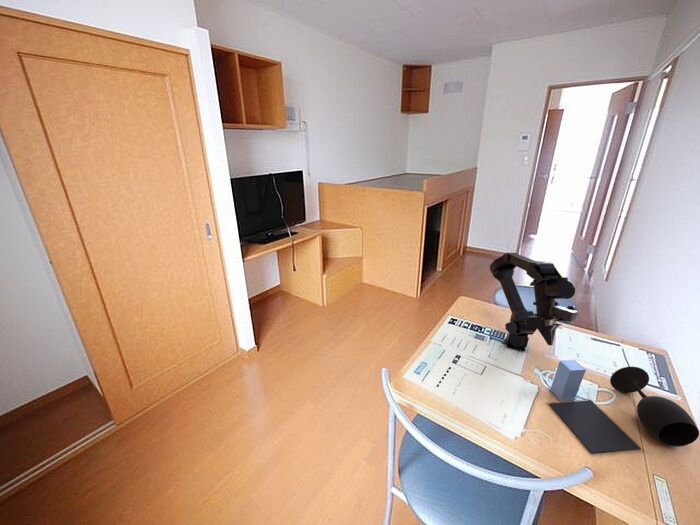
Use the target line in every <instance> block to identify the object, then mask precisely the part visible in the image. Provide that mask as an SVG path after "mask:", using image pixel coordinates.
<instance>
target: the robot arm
mask: <svg viewBox="0 0 700 525" xmlns="http://www.w3.org/2000/svg"><path fill="white" fill-rule="evenodd" d="M516 268H519V269H521V270H523V271H525V272H526V275H527V276H529V278H531V279H533V280H532V281H531V282H530V283H529V286H530V287H533V292H534V300H535V301H533V302H532V305H533V306H535V311H536V313H534V311H532V310H528V309H526V307H525V305H524V302H523V300H522V297H521V295H520V293H519V290H518V288H517V286H516V283H515V281H514V278H513V276H514V272H515V269H516ZM489 270H490V273H491V274H492V276H493V278H494V279H495V280H497V281H498V282H499V283H500V286H501V288H502V291H503V293H504V296H505V299H506V301H507V304H508V306H509V309H510V312H511V315H510V318H509V322H507V323H505V330H506V331H507V333H508V334H507V337H506V348H510V349H514V350H517V351H521V352H526V348H527V347H528V345H529V340H530V336H529V335H531V336H533V335H534V334H535V333H536V332H537V331H538V332H539V333H540V335H541V336H542V338H543V340H544V341H545V343H546V344H547V346H553V344H554V340H555V335H556V331H557V329H558V328H559V327H560V326H562V324H563V323H568V322H569V323H570V322H571V323H572V322H575V321H576V319H577V317H578V316H579V311H578V310H577V307H576V306H575V305H568V306H561V305H560V302H559V301H557V300H568V299H569V300H570V299H572V298H573V297H574V296H575V295H576V287H575V286H574V284H573V283H572V282H571V281H570V280H569V279H568V278H569V277H568V276H562V275H561V273H560V272H559V271H558V269H557V267H556V266H555V264H554V263H553V262H550V261H541V260H540V261H539V260H534V259H532V258H529V257H527V256H524V255H522V254H519V253H518V252H505V253H504V254H502V255H501V256H499V257H498V258H495V259H494V260H493V261H492V262H491V263H490V265H489ZM558 322H563V323H558Z"/></svg>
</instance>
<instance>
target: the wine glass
mask: <svg viewBox="0 0 700 525" xmlns="http://www.w3.org/2000/svg"><path fill="white" fill-rule="evenodd" d="M609 381H610V382H609V383H610V385H611V387H612V388H613V389H614V390H615V391H618V392H620V393H624V394H632V393H636V392H637V393H638V395H639V396H640V397H641V399H640V400H639V401H638V404H637V406H636V414H637V417H638V420H639V421H640V423H641V425H642V426H643V427H644V429H646V431H647V432H649V433H650V435H652V436H653V437H654V438H655V439H656V440H658V441H659V442H661V443H662V444H664V445H666V446H669V447H677V448H679V447H685V446H688V445H690V444H692V443H695V441H697V439H699V437H700V430H699V428H698V426H697V425H696V422H695V421H694V420H693V418H692V417H691V415H690V414H689V413H688V412H687V411H686V410H685V409H684V408H683V407H681V406H680V404H678V403H676V402H675V401H673V400H671V399H669V398H666V397H662V396H658V395H646V394H645V392H643V391H642V390H644V389H645V388H646V387H647V385H648V384H649V382H650V375H649V374H648V372H647V371H646V370H645V369H643V368H641V367H638V366H625V367H621V368H619V369H617V370H615V371H614V372H613V373H612V374H611V376H610V379H609Z"/></svg>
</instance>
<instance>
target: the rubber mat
mask: <svg viewBox="0 0 700 525" xmlns="http://www.w3.org/2000/svg"><path fill="white" fill-rule="evenodd" d="M548 405H549V406H550V408H552V409H553V411H554V412H555V414H556V415H557V416H558V417H559V418H560V419H561V421H562V422H564V424H565V425H566V426H567V428H569V430H570V431H571V432H572V433H573V434H574V436H576V438H577V439H578V440H579V441H580V442H581V444H583V446H584V447H585V448H586V449H587V450H588V451H589V453H590V454H603V453H614V452H615V453H616V452H625V451H636V450H637V451H638V450H641V447H640V446H639V445H638V444H637V443H636V442H635V441H634V440H633V438H631V437H630V436H629V435H628V434H626V432H625V431H623V430H622V429H621V428H620V427H619V426H618V424H616V423H615V422H614V421H613V420H612V418H611V417H609V416H608V415H607V414H606V413H605V412H604V411H603V410H602V409H601V408H600V407H599V406H598V405H597V404H596V403H594V401H593V400H591V399H588V400H576V401H562V402H549V403H548Z"/></svg>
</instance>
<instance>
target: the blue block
mask: <svg viewBox="0 0 700 525" xmlns="http://www.w3.org/2000/svg"><path fill="white" fill-rule="evenodd" d="M586 371H587V369H586V368H585V367H584V366H583V365H581V364H580V362H578V361H577V360H576V359H563V360H559V362H558V365H557V368H556V370H555V373H554V376H553V380H552V383H551V386H550V389H549V390H550V392H551V393H552V394H553V395H554V396H555V397H556V398H557V399H558V400H559V401H560V402H561V401H562V402H563V401H573V400H576V398H577V394H578V392H579V389H580V387H581V384H582V382H583V379H584V376H585V374H586Z"/></svg>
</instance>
